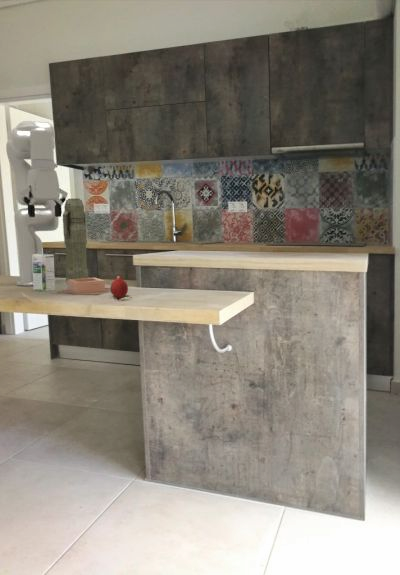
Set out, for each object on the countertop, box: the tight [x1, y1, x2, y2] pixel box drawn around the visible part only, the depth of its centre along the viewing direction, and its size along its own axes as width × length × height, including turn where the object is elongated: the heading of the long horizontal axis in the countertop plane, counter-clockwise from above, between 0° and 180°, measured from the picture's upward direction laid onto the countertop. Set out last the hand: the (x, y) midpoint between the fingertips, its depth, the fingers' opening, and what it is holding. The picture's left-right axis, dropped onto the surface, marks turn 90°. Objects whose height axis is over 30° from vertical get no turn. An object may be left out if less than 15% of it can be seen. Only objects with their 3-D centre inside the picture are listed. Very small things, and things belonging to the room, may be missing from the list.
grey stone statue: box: [62, 198, 90, 283], centre depth 212 cm, size 9×12×35 cm
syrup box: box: [32, 253, 56, 292], centre depth 198 cm, size 6×6×14 cm
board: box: [51, 287, 111, 296], centre depth 194 cm, size 18×18×1 cm
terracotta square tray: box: [66, 277, 106, 294], centre depth 194 cm, size 11×11×4 cm
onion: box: [110, 275, 129, 301], centre depth 181 cm, size 6×6×8 cm
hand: (45, 216), depth 184 cm, fingers open, 9 cm apart
